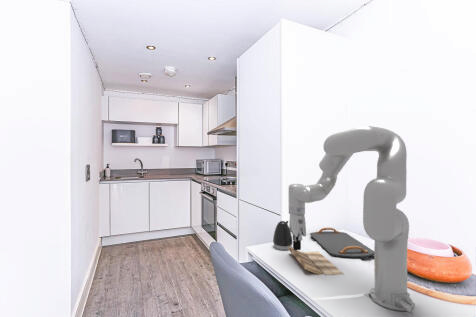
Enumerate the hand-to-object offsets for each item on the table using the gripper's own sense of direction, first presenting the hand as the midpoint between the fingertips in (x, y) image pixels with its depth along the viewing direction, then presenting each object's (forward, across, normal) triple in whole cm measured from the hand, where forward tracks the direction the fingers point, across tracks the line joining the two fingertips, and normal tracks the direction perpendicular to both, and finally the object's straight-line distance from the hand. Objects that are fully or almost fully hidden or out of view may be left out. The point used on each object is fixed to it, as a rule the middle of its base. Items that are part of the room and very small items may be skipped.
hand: (296, 249), depth 113 cm
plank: (+4, -4, -2) cm, 6 cm away
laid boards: (+6, -4, -10) cm, 12 cm away
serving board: (+7, +16, -30) cm, 35 cm away
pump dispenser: (+6, +16, +2) cm, 17 cm away
